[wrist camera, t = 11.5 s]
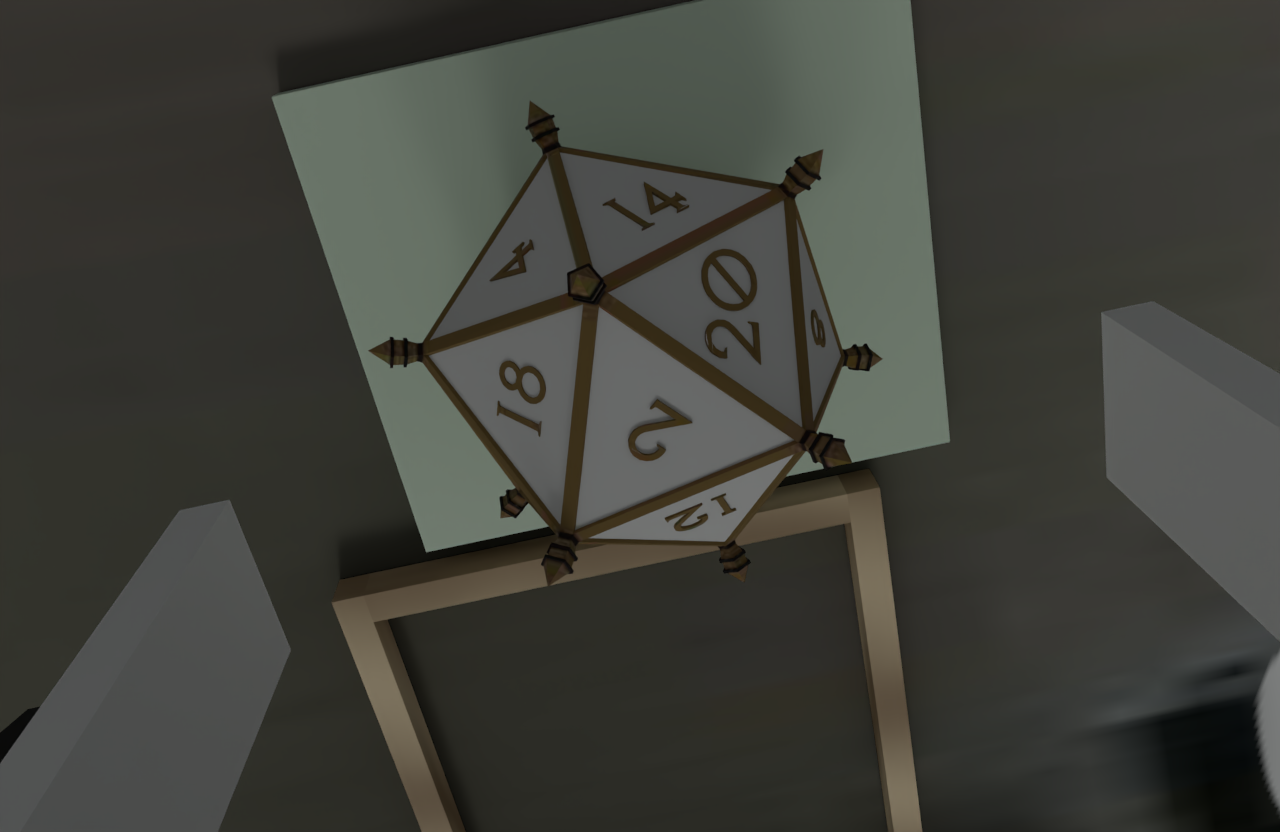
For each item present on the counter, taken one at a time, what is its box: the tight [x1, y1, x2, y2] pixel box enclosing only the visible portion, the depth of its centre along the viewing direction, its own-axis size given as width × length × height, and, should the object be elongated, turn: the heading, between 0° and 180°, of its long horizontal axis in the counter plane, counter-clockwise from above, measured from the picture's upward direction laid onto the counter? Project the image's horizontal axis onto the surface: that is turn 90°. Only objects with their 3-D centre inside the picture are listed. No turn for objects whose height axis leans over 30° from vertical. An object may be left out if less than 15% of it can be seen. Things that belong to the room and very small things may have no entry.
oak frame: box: [332, 469, 922, 832], centre depth 29 cm, size 15×14×1 cm
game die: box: [368, 101, 883, 586], centre depth 20 cm, size 9×8×10 cm
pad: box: [272, 0, 950, 552], centre depth 24 cm, size 11×13×1 cm
